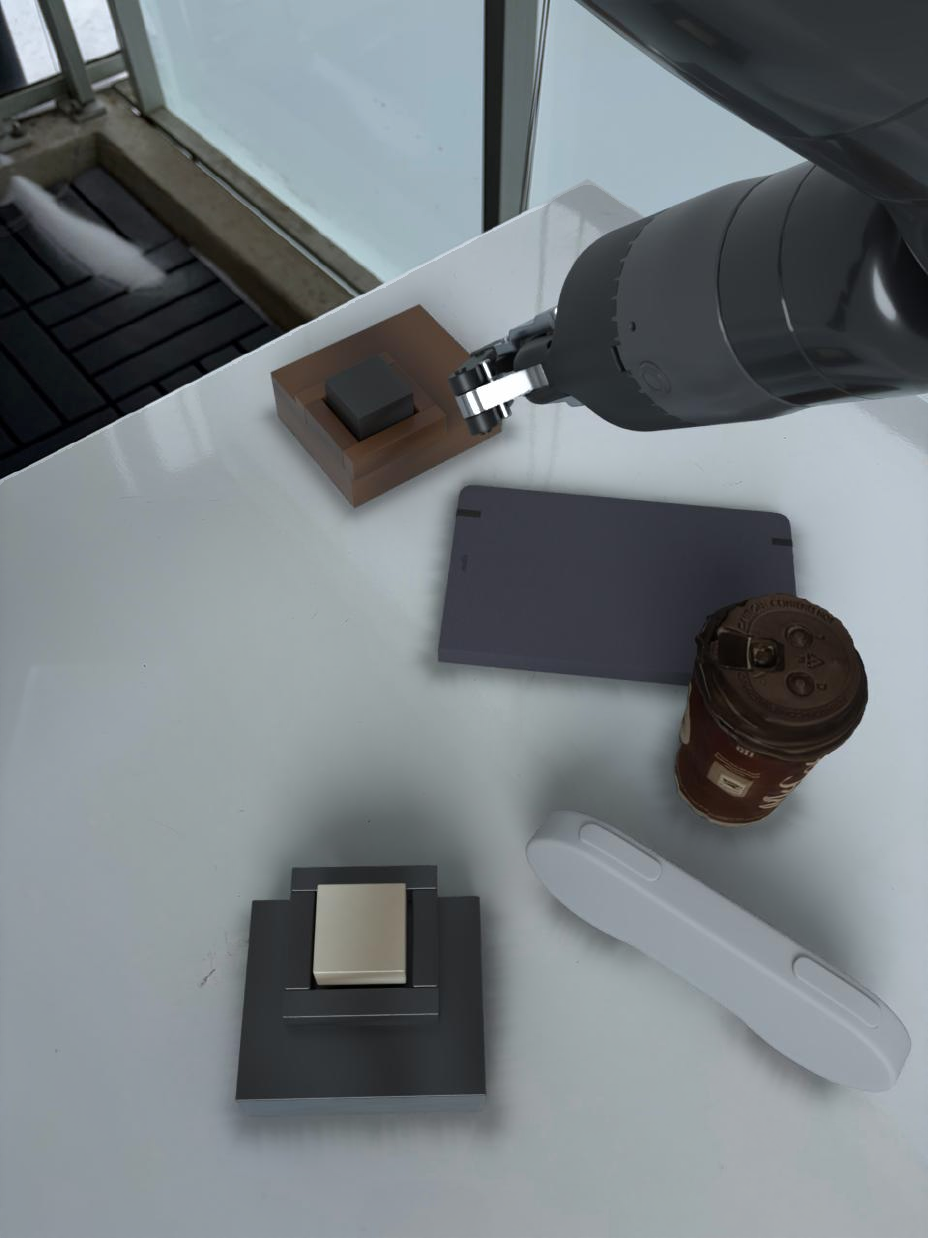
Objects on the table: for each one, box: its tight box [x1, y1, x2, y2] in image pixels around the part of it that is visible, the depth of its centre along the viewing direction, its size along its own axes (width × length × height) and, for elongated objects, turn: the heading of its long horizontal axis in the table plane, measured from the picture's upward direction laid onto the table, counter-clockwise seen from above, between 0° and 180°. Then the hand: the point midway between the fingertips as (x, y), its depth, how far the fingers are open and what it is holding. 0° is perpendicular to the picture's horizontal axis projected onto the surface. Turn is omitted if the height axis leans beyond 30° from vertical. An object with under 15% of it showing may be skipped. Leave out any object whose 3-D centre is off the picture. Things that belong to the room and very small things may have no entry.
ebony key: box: [324, 355, 414, 442], centre depth 67 cm, size 4×4×2 cm
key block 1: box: [269, 303, 503, 509], centre depth 72 cm, size 12×11×6 cm
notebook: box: [437, 484, 797, 687], centre depth 67 cm, size 13×2×21 cm
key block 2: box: [234, 864, 487, 1118], centre depth 51 cm, size 11×10×6 cm
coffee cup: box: [673, 593, 869, 828], centre depth 55 cm, size 9×8×13 cm
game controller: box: [525, 809, 912, 1093], centre depth 51 cm, size 20×2×8 cm, turn 55°
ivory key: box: [313, 883, 407, 985], centre depth 49 cm, size 4×4×2 cm
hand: (488, 369), depth 52 cm, fingers closed
